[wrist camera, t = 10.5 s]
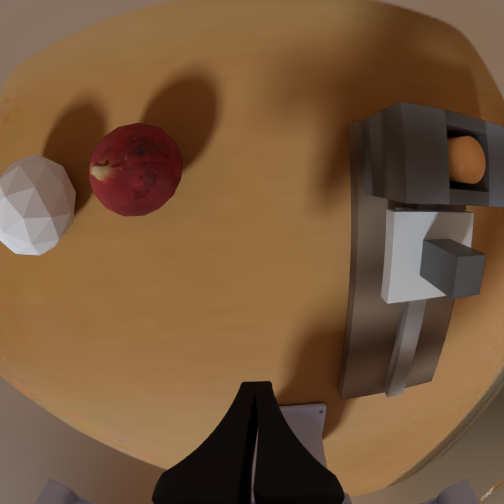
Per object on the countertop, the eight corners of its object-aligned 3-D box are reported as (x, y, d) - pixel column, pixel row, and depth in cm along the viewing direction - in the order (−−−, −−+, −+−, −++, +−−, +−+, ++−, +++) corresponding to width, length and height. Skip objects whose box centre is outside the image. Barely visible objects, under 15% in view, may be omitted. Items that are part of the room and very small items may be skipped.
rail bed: (425, 372, 23) (456, 419, 16) (337, 389, 24) (355, 449, 16) (453, 137, 17) (515, 131, 10) (347, 125, 18) (391, 100, 11)
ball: (92, 189, 23) (97, 207, 17) (42, 253, 21) (34, 293, 15) (40, 136, 18) (23, 133, 12) (-10, 204, 16) (-39, 230, 10)
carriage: (447, 281, 19) (494, 315, 13) (375, 290, 19) (413, 333, 13) (455, 208, 17) (510, 223, 11) (379, 207, 18) (428, 223, 11)
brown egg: (450, 181, 15) (486, 185, 11) (420, 178, 15) (455, 181, 11) (448, 143, 14) (484, 139, 10) (418, 138, 14) (452, 132, 11)
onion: (178, 118, 18) (130, 89, 11) (206, 189, 20) (170, 198, 12) (113, 154, 19) (46, 149, 11) (139, 220, 20) (79, 245, 13)
